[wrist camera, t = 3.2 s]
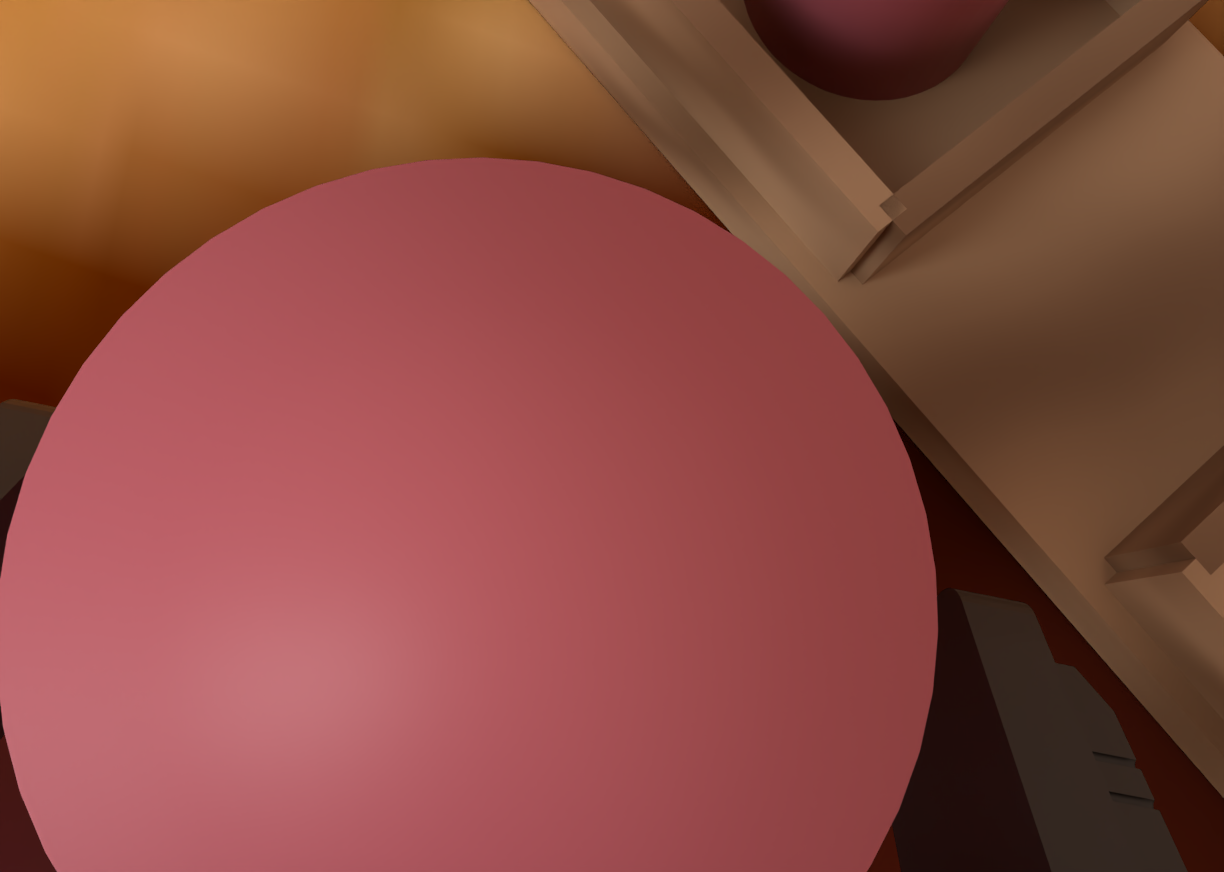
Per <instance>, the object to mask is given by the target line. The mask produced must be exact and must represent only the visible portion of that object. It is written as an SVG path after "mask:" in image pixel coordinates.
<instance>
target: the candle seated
mask: <svg viewBox="0 0 1224 872" xmlns="http://www.w3.org/2000/svg"><path fill="white" fill-rule="evenodd" d="M1008 1H1009V0H744V3H745V6H746V10H747V13H748V16H749V18H750V20H751V23H752V25H753V27H754V29H755V31H756V32H757V34H758V36H759V37H760V39H761V40H762V42H763V43H764V44H765V46H766V47H767V48H768V49H769V51H770V52H771V53H772V54H773V55H774V56H775V57H776V58H777V59H778V60H779V61H780V62H781V63H782V64H783V65H784V66H785V67H786V68H788V69H789V70H790V71H792V72H793V73H794V74H795V75H797V76H798V77H800V78H802V79H803V80H805V81H807V82H808V83H810V84H812V85H814V86H816V87H818V88H820V89H823V90H825V91H827V92H830V93H834V94H837V95H840V96H843V97H848V98H853V99H858V100H871V101H881V100H894V99H900V98H906V97H909V96H912V95H915V94H919V93H922V92H924V91H926V90H928V89H930V88H932V87H934V86H936V85H937V84H939V83H941V82H942V81H944V80H945V79H947V78H948V77H949V76H950V75H951V74H952V73H953V72H955V71H956V70H957V69H958V68H959V67H960V65H961V64H962V63H963V62H964V61H965V59H966V58H967V57H968V55H969V54H970V53H971V51H972V50H973V49H974V47H975V46H976V45H977V43H978V42H979V40H980V39H981V38H982V36H983V35H984V34H985V32H986V31H987V29H988V28H989V27H990V25H991V24H992V23H993V21H994V20H995V19H996V17H997V16H998V14H999V13H1000V12H1001V10H1002V9H1003V8H1004V6H1005V5H1006V4H1007V2H1008Z"/></svg>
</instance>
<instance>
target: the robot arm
mask: <svg viewBox="0 0 1224 872" xmlns="http://www.w3.org/2000/svg"><path fill="white" fill-rule="evenodd" d="M56 408H57V407H52V406H47V405H42V404H37V403H32V402H27V401H22V400H16V399H11V400H7V401H5V402H2V403H1V404H0V577H1V571H2V565H3V559H4V552H5V546H6V540H7V534H8V531H9V527H10V524H11V521H12V517H13V514H14V511H15V507H16V504H17V501H18V497H19V494H20V491H21V487H22V484H23V481H24V477H25V474H26V472H27V469H28V467H29V465H30V463H31V460H32V458H33V456H34V454H35V452H36V449H37V447H38V445H39V443H40V440H41V438H42V436H43V434H44V431H45V429H46V427H47V425H48V423H49V420H50V418H51V416H52V414H53V413H54V411H55V410H56ZM937 615H938V638H937V650H936V661H935V673H934V684H933V693H932V698H931V702H930V707H929V712H928V716H927V721H926V725H925V730H924V735H923V739H922V744H921V748H920V752H919V755H918V758H917V761H916V763H915V766H914V769H913V772H912V775H911V778H910V780H909V783H908V786H907V789H906V792H905V794H904V797H903V800H902V803H901V806H900V808H899V811H898V813H897V815H896V817H895V819H894V821H893V823H892V826H893V831H894V836H895V842H896V847H897V852H898V857H899V863H900V868H901V872H1187V870H1186V867H1185V865H1184V863H1183V861H1182V859H1181V857H1180V854H1179V852H1178V850H1177V848H1176V846H1175V843H1174V841H1173V839H1172V837H1171V835H1170V833H1169V830H1168V828H1167V826H1166V824H1165V822H1164V819H1163V817H1162V815H1161V813H1160V811H1159V810H1155V809H1154V808H1153V803H1154V798H1153V795H1152V793H1151V791H1150V789H1149V787H1148V785H1147V782H1146V780H1145V778H1144V776H1143V774H1142V771H1141V769H1136V768H1135V761H1136V758H1135V756H1134V754H1133V752H1132V750H1131V747H1130V745H1129V743H1128V741H1127V739H1126V736H1125V734H1124V732H1123V730H1122V728H1121V726H1120V723H1119V721H1118V719H1117V717H1116V715H1115V712H1114V711H1113V710H1112V709H1111V708H1110V707H1109V705H1108V704H1107V703H1106V702H1105V701H1104V700H1103V699H1102V697H1101V696H1100V695H1099V694H1098V693H1097V692H1096V691H1095V690H1094V688H1093V687H1092V686H1091V685H1090V684H1089V683H1088V682H1087V681H1086V679H1085V678H1084V677H1083V676H1082V675H1081V674H1080V673H1079V672H1078V670H1077V669H1076V668H1075V667H1073V666H1068V665H1063V664H1058V663H1055V661H1054V659H1053V656H1052V654H1051V652H1050V649H1049V647H1048V644H1047V642H1046V640H1045V637H1044V635H1043V632H1042V630H1041V627H1040V625H1039V623H1038V620H1037V618H1036V616H1035V614H1034V612H1033V610H1032V609H1031V607H1030V606H1029V605H1027V604H1026V603H1023V602H1018V601H1013V600H1008V599H1003V598H998V597H993V596H988V595H983V594H978V593H973V592H968V591H963V590H958V589H953V588H947V589H945V590H943V591H942V592H941V593H940V594H939V595H938V596H937ZM4 734H5V733H4V729H3V722H2V713H1V704H0V739H1V738H2V737H3V735H4Z"/></svg>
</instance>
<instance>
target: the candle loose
mask: <svg viewBox="0 0 1224 872" xmlns="http://www.w3.org/2000/svg"><path fill="white" fill-rule="evenodd" d="M937 638H938V615H937V589H936V570H935V564H934V558H933V552H932V546H931V540H930V534H929V528H928V522H927V516H926V512H925V508H924V505H923V502H922V498H921V495H920V491H919V488H918V485H917V481H916V478H915V475H914V471H913V468H912V465H911V461H910V458H909V456H908V454H907V451H906V449H905V447H904V444H903V442H902V440H901V438H900V435H899V433H898V431H897V428H896V426H895V424H894V422H893V419H892V417H891V415H890V412H889V410H888V408H887V406H886V404H885V402H884V401H883V399H882V397H881V396H880V394H879V392H878V391H877V389H876V387H875V386H874V384H873V382H872V381H871V379H870V377H869V375H868V374H867V372H866V370H865V369H864V367H863V365H862V364H861V362H860V360H859V359H858V357H857V356H856V355H855V353H854V352H853V351H852V349H851V348H850V347H849V346H848V344H847V343H846V342H845V340H844V339H843V338H842V337H841V335H840V334H839V333H838V331H837V330H836V329H835V327H834V326H833V325H832V324H831V322H830V321H829V320H828V318H827V317H826V316H825V315H824V313H823V312H822V311H821V310H820V309H819V308H818V307H817V306H816V305H815V304H814V303H813V302H812V301H811V300H810V299H809V298H808V297H807V296H806V295H805V294H804V293H803V292H802V291H801V290H800V289H799V288H798V287H797V286H796V285H795V284H794V283H793V282H792V281H791V280H790V279H789V278H788V277H787V276H786V275H785V274H784V273H782V272H781V271H780V270H779V269H777V268H776V267H775V266H774V265H772V264H771V263H770V262H769V261H767V260H766V259H765V258H764V257H762V256H761V255H760V254H758V253H757V252H756V251H755V250H753V249H752V248H751V247H750V246H748V245H747V244H746V243H745V242H743V241H742V240H740V239H739V238H737V237H736V236H734V235H732V234H731V233H729V232H727V231H726V230H724V229H723V228H721V227H719V226H718V225H716V224H714V223H713V222H711V221H709V220H708V219H706V218H705V217H703V216H701V215H700V214H698V213H696V212H695V211H693V210H690V209H688V208H686V207H684V206H682V205H679V204H677V203H675V202H673V201H671V200H668V199H666V198H664V197H662V196H660V195H658V194H655V193H653V192H651V191H649V190H647V189H644V188H641V187H638V186H635V185H632V184H629V183H625V182H622V181H619V180H616V179H613V178H610V177H607V176H603V175H600V174H597V173H594V172H590V171H585V170H580V169H574V168H569V167H564V166H559V165H554V164H548V163H543V162H538V161H524V160H509V159H495V158H464V159H443V160H425V161H420V162H414V163H408V164H402V165H396V166H390V167H384V168H378V169H372V170H368V171H365V172H361V173H358V174H355V175H351V176H348V177H345V178H341V179H338V180H334V181H331V182H328V183H324V184H321V185H317V186H315V187H312V188H310V189H308V190H305V191H303V192H301V193H298V194H296V195H294V196H291V197H289V198H287V199H284V200H282V201H280V202H278V203H275V204H273V205H271V206H268V207H266V208H264V209H262V210H260V211H258V212H256V213H255V214H253V215H251V216H250V217H248V218H246V219H244V220H243V221H241V222H239V223H238V224H236V225H234V226H232V227H231V228H229V229H227V230H226V231H224V232H222V233H220V234H219V235H217V236H215V237H214V238H212V239H211V240H209V241H208V242H207V243H205V244H204V245H203V246H201V247H200V248H199V249H197V250H196V251H195V252H193V253H192V254H191V255H189V256H188V257H187V258H186V259H184V260H183V261H182V262H180V263H179V264H178V265H176V266H175V267H174V268H172V269H171V270H170V271H168V272H167V273H166V274H164V275H163V276H162V277H161V278H160V279H159V280H158V281H157V282H156V283H155V284H154V285H153V286H152V287H151V288H150V289H149V290H148V291H147V292H146V293H145V294H144V295H143V296H142V297H141V298H140V299H139V300H138V301H137V302H136V303H135V304H134V305H133V306H132V307H131V308H130V309H129V310H127V311H126V312H125V313H124V314H123V315H122V316H121V318H120V319H119V320H118V321H117V323H116V324H115V325H114V326H113V328H112V329H111V330H110V331H109V333H108V334H107V335H106V336H105V338H104V339H103V340H102V341H101V343H100V344H99V345H98V346H97V348H96V349H95V350H94V351H93V353H92V354H91V355H90V356H89V358H88V359H87V360H86V361H85V363H84V364H83V365H82V367H81V369H80V370H79V372H78V374H77V375H76V377H75V378H74V380H73V382H72V383H71V385H70V387H69V388H68V390H67V392H66V393H65V395H64V396H63V398H62V400H61V401H60V403H59V405H58V406H57V408H56V410H55V411H54V413H53V414H52V416H51V418H50V420H49V423H48V425H47V427H46V429H45V431H44V434H43V436H42V438H41V440H40V443H39V445H38V447H37V449H36V452H35V454H34V456H33V458H32V460H31V463H30V465H29V467H28V469H27V472H26V474H25V477H24V481H23V484H22V487H21V491H20V494H19V497H18V501H17V504H16V507H15V511H14V514H13V517H12V521H11V524H10V527H9V531H8V534H7V540H6V546H5V552H4V559H3V565H2V571H1V577H0V704H1V713H2V722H3V729H4V733H5V736H6V740H7V744H8V748H9V752H10V756H11V760H12V763H13V767H14V771H15V775H16V779H17V783H18V787H19V790H20V793H21V795H22V798H23V800H24V803H25V805H26V807H27V810H28V812H29V815H30V817H31V819H32V822H33V824H34V826H35V829H36V831H37V834H38V836H39V838H40V841H41V843H42V846H43V848H44V850H45V853H46V854H47V856H48V858H49V859H50V861H51V863H52V864H53V866H54V868H55V869H56V871H57V872H867V870H868V869H869V867H870V866H871V864H872V862H873V860H874V858H875V856H876V854H877V852H878V850H879V848H880V846H881V844H882V842H883V840H884V838H885V836H886V834H887V832H888V830H889V828H890V827H891V825H892V823H893V821H894V819H895V817H896V815H897V813H898V811H899V808H900V806H901V803H902V800H903V797H904V794H905V792H906V789H907V786H908V783H909V780H910V778H911V775H912V772H913V769H914V766H915V763H916V761H917V758H918V755H919V752H920V748H921V744H922V739H923V735H924V730H925V725H926V721H927V716H928V712H929V707H930V702H931V698H932V693H933V684H934V673H935V661H936V650H937Z"/></svg>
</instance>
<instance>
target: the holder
mask: <svg viewBox="0 0 1224 872" xmlns="http://www.w3.org/2000/svg"><path fill="white" fill-rule="evenodd" d="M529 1H530V2H531V4H532V5H533V6H534V7H535V8H536V9H537V10H538V12H539V13H540V14H541V15H542V16H543V17H544V18H545V20H546V21H547V22H548V23H549V24H550V25H551V26H552V28H553V29H554V30H555V31H556V32H557V33H558V34H559V36H560V37H561V38H562V39H563V40H564V41H565V43H566V44H567V45H568V46H569V47H570V48H571V49H572V51H573V52H574V53H575V54H576V55H577V56H578V57H579V59H580V60H581V61H582V62H583V63H584V64H585V65H586V67H587V68H588V69H589V70H590V71H591V72H592V74H593V75H594V76H595V77H596V78H597V79H598V80H599V82H600V83H601V84H602V85H603V86H604V87H605V88H606V90H607V91H608V92H609V93H610V94H611V95H612V96H613V98H614V99H615V100H616V101H617V102H618V103H619V104H620V106H621V107H622V108H623V109H624V110H625V111H626V113H627V114H628V115H629V116H630V117H631V118H632V119H633V121H634V122H635V123H636V124H637V125H638V126H639V127H640V129H641V130H642V131H643V132H644V133H645V134H646V135H647V137H648V138H649V139H650V140H651V141H652V142H653V144H654V145H655V146H656V147H657V148H658V149H659V150H660V152H661V153H662V154H663V155H664V156H665V157H666V158H667V160H668V161H669V162H670V163H671V164H672V165H673V166H674V168H675V169H676V170H677V171H678V172H679V173H680V175H681V176H682V177H683V178H684V179H685V180H686V181H687V183H688V184H689V185H690V186H691V187H692V188H693V189H694V191H695V192H696V193H697V194H698V195H699V196H700V197H701V199H702V200H703V201H704V202H705V203H706V204H707V205H708V207H709V208H710V209H711V210H712V211H713V212H714V214H715V215H716V216H717V217H718V218H719V219H720V220H721V222H722V223H723V224H724V225H725V226H726V227H727V228H728V230H729V231H730V232H731V233H732V234H733V235H734V236H736V237H737V238H739V239H740V240H742V241H743V242H745V243H746V244H747V245H748V246H750V247H751V248H752V249H753V250H755V251H756V252H757V253H758V254H760V255H761V256H762V257H764V258H765V259H766V260H767V261H769V262H770V263H771V264H772V265H774V266H775V267H776V268H777V269H779V270H780V271H781V272H782V273H784V274H785V275H786V276H787V277H788V278H789V279H790V280H791V281H792V282H793V283H794V284H795V285H796V286H797V287H798V288H799V289H800V290H801V291H802V292H803V293H804V294H805V295H806V296H807V297H808V298H809V299H810V300H811V301H812V302H813V303H814V304H815V305H816V306H817V307H818V308H819V309H820V310H821V311H822V312H823V313H824V315H825V316H826V317H827V318H828V320H829V321H830V322H831V324H832V325H833V326H834V327H835V329H836V330H837V331H838V333H839V334H840V335H841V337H842V338H843V339H844V340H845V342H846V343H847V344H848V346H849V347H850V348H851V349H852V351H853V352H854V353H855V355H856V356H857V357H858V359H859V360H860V362H861V364H862V365H863V367H864V369H865V370H866V372H867V374H868V375H869V377H870V379H871V381H872V382H873V384H874V386H875V387H876V389H877V391H878V392H879V394H880V396H881V397H882V399H883V401H884V402H885V404H886V406H887V408H888V410H889V412H890V415H891V417H892V418H893V419H894V420H895V421H896V422H897V424H898V425H899V426H900V427H901V428H902V429H903V430H904V432H905V433H906V434H907V435H908V436H909V437H910V438H911V440H912V441H913V442H914V443H915V444H916V445H917V447H918V448H919V449H920V450H921V451H922V452H923V453H924V455H925V456H926V457H927V458H928V459H929V460H930V461H931V463H932V464H933V465H934V466H935V467H936V468H937V469H938V471H939V472H940V473H941V474H942V475H943V476H944V478H945V479H946V480H947V481H948V482H949V483H950V484H951V486H952V487H953V488H954V489H955V490H956V491H957V492H958V494H959V495H960V496H961V497H962V498H963V499H964V500H965V502H966V503H967V504H968V505H969V506H970V507H971V508H972V510H973V511H974V512H975V513H976V514H977V515H978V517H979V518H980V519H981V520H982V521H983V522H984V523H985V525H986V526H987V527H988V528H989V529H990V530H991V531H992V533H993V534H994V535H995V536H996V537H997V538H998V539H999V541H1000V542H1001V543H1002V544H1003V545H1004V546H1005V548H1006V549H1007V550H1008V551H1009V552H1010V553H1011V554H1012V556H1013V557H1014V558H1015V559H1016V560H1017V561H1018V562H1019V564H1020V565H1021V566H1022V567H1023V568H1024V569H1025V570H1026V572H1027V573H1028V574H1029V575H1030V576H1031V577H1032V579H1033V580H1034V581H1035V582H1036V583H1037V584H1038V585H1039V587H1040V588H1041V589H1042V590H1043V591H1044V592H1045V593H1046V595H1047V596H1048V597H1049V598H1050V599H1051V600H1052V601H1053V603H1054V604H1055V605H1056V606H1057V607H1058V608H1059V609H1060V611H1061V612H1062V613H1063V614H1064V615H1065V616H1066V618H1067V619H1068V620H1069V621H1070V622H1071V623H1072V624H1073V626H1074V627H1075V628H1076V629H1077V630H1078V631H1079V632H1080V634H1081V635H1082V636H1083V637H1084V638H1085V639H1086V640H1087V642H1088V643H1089V644H1090V645H1091V646H1092V647H1093V649H1094V650H1095V651H1096V652H1097V653H1098V654H1099V655H1100V657H1101V658H1102V659H1103V660H1104V661H1105V662H1106V663H1107V665H1108V666H1109V667H1110V668H1111V669H1112V670H1113V671H1114V673H1115V674H1116V675H1117V676H1118V677H1119V678H1120V680H1121V681H1122V682H1123V683H1124V684H1125V685H1126V686H1127V688H1128V689H1129V690H1130V691H1131V692H1132V693H1133V694H1134V696H1135V697H1136V698H1137V699H1138V700H1139V701H1140V702H1141V704H1142V705H1143V706H1144V707H1145V708H1146V709H1147V710H1148V712H1149V713H1150V714H1151V715H1152V716H1153V717H1154V719H1155V720H1156V721H1157V722H1158V723H1159V724H1160V725H1161V727H1162V728H1163V729H1164V730H1165V731H1166V732H1167V733H1168V735H1169V736H1170V737H1171V738H1172V739H1173V740H1174V741H1175V743H1176V744H1177V745H1178V746H1179V747H1180V748H1181V750H1182V751H1183V752H1184V753H1185V754H1186V755H1187V756H1188V758H1189V759H1190V760H1191V761H1192V762H1193V763H1194V764H1195V766H1196V767H1197V768H1198V769H1199V770H1200V771H1201V772H1202V774H1203V775H1204V776H1205V777H1206V778H1207V779H1208V781H1209V782H1210V783H1211V784H1212V785H1213V786H1214V787H1215V789H1216V790H1217V791H1218V792H1219V793H1220V794H1221V795H1222V797H1223V798H1224V56H1223V55H1222V54H1221V53H1220V52H1219V51H1218V50H1217V49H1216V48H1215V47H1214V46H1213V45H1212V44H1211V43H1210V42H1209V41H1208V40H1207V39H1206V38H1205V37H1204V36H1203V34H1202V33H1201V32H1200V31H1199V30H1198V29H1197V28H1196V27H1195V26H1194V25H1193V24H1192V23H1191V22H1190V21H1189V19H1190V18H1191V17H1192V16H1193V15H1194V14H1195V13H1196V12H1197V11H1198V10H1199V9H1200V8H1201V7H1202V6H1203V5H1204V4H1205V3H1206V2H1207V1H1208V0H1009V1H1008V2H1007V4H1006V5H1005V6H1004V8H1003V9H1002V10H1001V12H1000V13H999V14H998V16H997V17H996V19H995V20H994V21H993V23H992V24H991V25H990V27H989V28H988V29H987V31H986V32H985V34H984V35H983V36H982V38H981V39H980V40H979V42H978V43H977V45H976V46H975V47H974V49H973V50H972V51H971V53H970V54H969V55H968V57H967V58H966V59H965V61H964V62H963V63H962V64H961V65H960V67H959V68H958V69H957V70H956V71H955V72H953V73H952V74H951V75H950V76H949V77H948V78H947V79H945V80H944V81H942V82H941V83H939V84H937V85H936V86H934V87H932V88H930V89H928V90H926V91H924V92H922V93H919V94H915V95H912V96H909V97H906V98H900V99H894V100H881V101H871V100H858V99H853V98H848V97H843V96H840V95H837V94H834V93H830V92H827V91H825V90H823V89H820V88H818V87H816V86H814V85H812V84H810V83H808V82H807V81H805V80H803V79H802V78H800V77H798V76H797V75H795V74H794V73H793V72H792V71H790V70H789V69H788V68H786V67H785V66H784V65H783V64H782V63H781V62H780V61H779V60H778V59H777V58H776V57H775V56H774V55H773V54H772V53H771V52H770V51H769V49H768V48H767V47H766V46H765V44H764V43H763V42H762V40H761V39H760V37H759V36H758V34H757V32H756V31H755V29H754V27H753V25H752V23H751V20H750V18H749V16H748V13H747V10H746V6H745V3H744V0H529Z"/></svg>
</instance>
